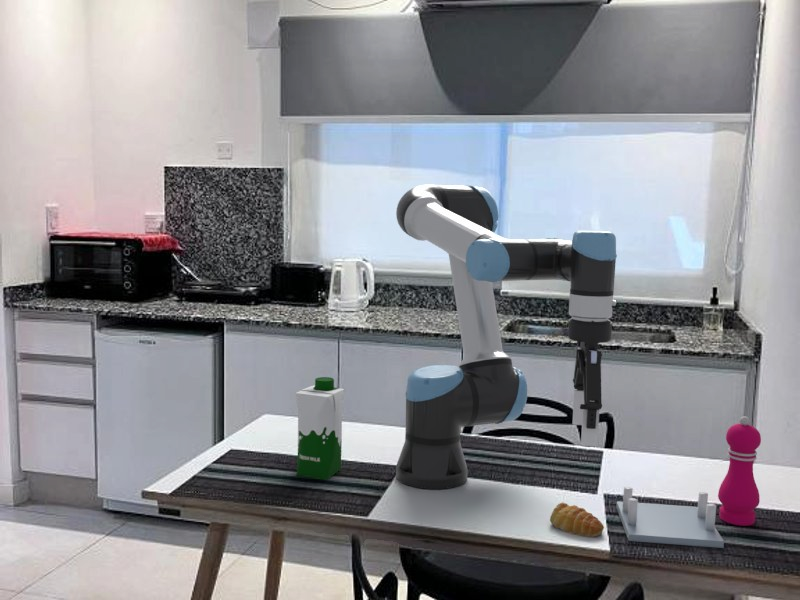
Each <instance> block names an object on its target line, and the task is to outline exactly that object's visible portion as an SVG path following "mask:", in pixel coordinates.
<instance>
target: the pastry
mask: <svg viewBox="0 0 800 600" xmlns="http://www.w3.org/2000/svg"><path fill="white" fill-rule="evenodd" d="M549 521H550V523H551V525H553V526H554V528H555V529H561V531H562V532H566V533H570V534H572V535H577V536H580V537H590V538H591V537H592V538H595V537H598V536H599V535H601V534H603V531H604V528H605V526H604V524H603V523H602V522H601V521H600V520H599V518H598V517H597V516H595V515H594V514H593V513H590V512H588V511H586V509H585V508H583V507H578V506H577V505H575V504H573V505H569V504H568V503H565V502H561V503H558V504H556V507H554V509H553V511H552V512H551V514H550V518H549Z"/></svg>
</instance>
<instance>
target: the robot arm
mask: <svg viewBox="0 0 800 600" xmlns="http://www.w3.org/2000/svg"><path fill="white" fill-rule="evenodd" d="M396 206H397V207H396V213H395V215H396V221H397V224H398V225H399V228H400V229H401V230H402V231H403V232H404V234H406V235H407V236H409V237H411V238H412V239H413V240H414V239H415V240H417V241H422V242H423V241H424V242H425V241H428V242H429V243H431V244H432V245H434V246H436V247H438V248H440V249H441V250H443V251H444V252H446V254H448V257H449V259H448V260H449V265H450V271H451V279H452V284H453V291H454V298H455V305H456V312H457V318H458V319H457V320H458V324H459V326H458V327H459V331H460V338H461V344H462V351H463V358H462V360H461V362H459V364H458V366H457V365H453V364H442V365H440V364H434V365H429V366H427V365H426V366H423V367H420V368H418V369H417V368H416V370H414V371H412V372H411V374H409V375H408V377H407V382H406V390H405V430H404V431H405V435H404V436H405V438H404V442H403V446H402V449H401V452H400V454H399V457H398V461H397V462H396V467H395V468H396V469H395V477H396V479H397V480H398V481H399V482H400V483H403V484H404V485H406V486H410V487H413V488H417V489H418V488H419V489H427V490H442V489H452V488H455V487H459V486H462V485H463V484H465V483H466V482H467V480H468V465H467V463H466V458H465V455H464V452H463V448H462V445H461V430H462V429H461V428H464V427H473V426H483V425H484V426H485V425H492V424H495V425H500V424H502V423H506V422H512V421H514V420H516V419H518V418H519V417H520V416H521V414H522V413H523V411H524V408H525V407H526V404H527V400H528V383H527V378H526V376H525V375H524V374H523V371H522V370H521V369H519V368H517V367H514V366H513V361H512V357H511V356H509V354H506V353H505V352H504V350H503V342H502V338H501V332H500V326H499V325H500V324H499V319H498V313H497V306H496V301H495V295H494V294H495V293H494V288H493V287H494V286H493V283H495V282H513V281H515V282H517V281H552V280H553V281H564V282H565V281H566V282H570V289H569V290H570V291H569V298H568V315H569V316H570V317H571V318H569V319H568V324H567V325H568V327H567V328H568V329H567V337H568V339H569V340H571V341H572V342H573V341H574V342H576V351H575V361H574V362H575V364H574V371H573V379H572V383H573V388H574V390H573V401H572V404H573V405H572V407H573V409H572V423H571V424H572V425H575V426H581V435H580V446H581V447H596V448H598V443H599V441H598V440H599V422H600V410H601V409H602V408H603V404H602V357H603V354H602V351H600V349H599V348H598V347H599V344H600V343H603V344H605V343H608V342H610V341H611V339H612V331H613V330H612V329H613V328H612V327H613V322H612V321H611V320H610V318H612V317H613V306H614V307H615V306H616V305H617V301H616V300H615V299H614V292H615V291H614V290H615V279H616V278H615V277H616V276H615V273H616V264H617V263H616V261H617V260H616V259H617V256H618V255H617V237H616V235H615V233H613V232H611V231H607V230H606V231H604V230H603V231H602V230H600V231H598V230H576V231H575V232H574V233H573V235H572V240H569V239H560V238H557V237H554V238H551V237H550V238H549V237H546V238H540V239H539V238H536V239H533V238H532V239H529V238H528V239H526V238H525V239H524V238H523V239H519V238H513V239H511V238H505V237H503V236H501V235H498V234H496V233H495V232H496V230H497V228H498V221H499V208H498V206H497V202H496V200H495V198H494V196H493V195H492V193H490V191H488V190H487V189H486V188H484V187H480V186H473V185H469V184H465V185H452V184H451V185H446V184H445V185H444V184H443V185H442V184H422V185H417V186H415V187H413V188H411V189H410V188H409V190H407V191H406V192H405V193H404V194H403V195H402V196H401V198H400V200H399V202H397V205H396Z"/></svg>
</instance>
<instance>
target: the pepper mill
mask: <svg viewBox="0 0 800 600" xmlns="http://www.w3.org/2000/svg"><path fill="white" fill-rule="evenodd" d="M750 422H751V420H750V418H749V417H748V416H744V415H743V416H741V417H740V418H739V423H736V424H733V425H730V427H729V428H728V429H727V431H726V434H725V440H726V442H727V444H728V446H729V447H728V448H727V457H729V465H728V469H727V472H726V475H725V477H724V479H723V480H722V481H721V483H720V485H719V489H718V493H717V494H718V495H717V498H718V501H719V502H720V503H721V506H720V507H719V516H718V517H719V519H720V520H722V521H723V522H726V523H728V524H730V525H735V526H744V527H745V526H747V527H748V526H752V525H754V524H755V522H756V512H755V509H756V508H757V507H758V506H759V504H760V501H761V500H760V492H759V489H758V486H757V484H756V481H755V476H754V461H756V460H757V455H758V452H757V451H756V450H757V449H758V448H759V447H760V445H761V442H762V437H761V434H760V431H759V430H758V429H757V428H756V427H755V426H753V425H751V424H750Z"/></svg>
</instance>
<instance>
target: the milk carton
mask: <svg viewBox="0 0 800 600" xmlns="http://www.w3.org/2000/svg"><path fill="white" fill-rule="evenodd" d="M344 391H345V389H344V388H339V387H335V379H334V378H333V377H330V376H329V377H327V376H325V377H324V376H321V377H316V378H315V379H314V385H313V384H312V385H310V386H308V387H306V388H302V389H301V390H299V391H297V392H295V398H296V404H297V418H298V419H297V460H296V463H297V464H296V465H297V466H296V476H300V477H304V478H305V477H306V478H310V479H316V478H317V480H322V479H324V480H323V481H326V480H328V479H330V478H331V477H333V476H334V475H336V474H337V473H339V472H340V471H341V470H342V468H341V467H342V442H343V441H342V440H343V439H342V438H343V404H344V403H343V402H344V393H345V392H344ZM338 471H339V472H338ZM335 473H336V474H335ZM329 477H330V478H329Z"/></svg>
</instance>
